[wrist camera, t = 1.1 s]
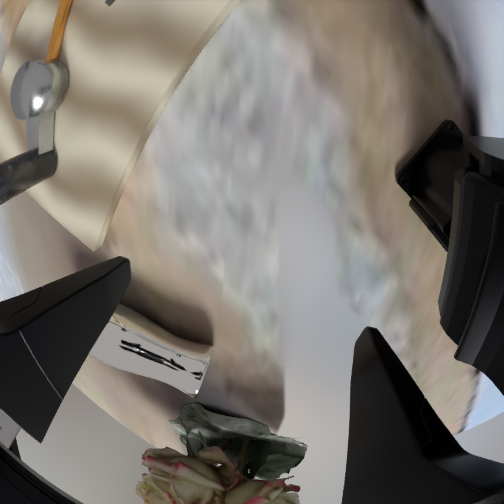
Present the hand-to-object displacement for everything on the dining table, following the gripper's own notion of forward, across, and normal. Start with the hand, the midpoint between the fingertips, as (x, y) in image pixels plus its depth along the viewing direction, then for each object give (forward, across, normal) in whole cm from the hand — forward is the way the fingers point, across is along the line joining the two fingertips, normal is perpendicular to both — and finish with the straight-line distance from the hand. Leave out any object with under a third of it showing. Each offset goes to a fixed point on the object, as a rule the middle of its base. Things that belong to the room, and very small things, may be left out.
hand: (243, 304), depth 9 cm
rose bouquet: (+12, -2, +46) cm, 47 cm away
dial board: (+12, +20, -7) cm, 24 cm away
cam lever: (+10, +21, -7) cm, 24 cm away
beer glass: (+9, +2, +20) cm, 22 cm away
